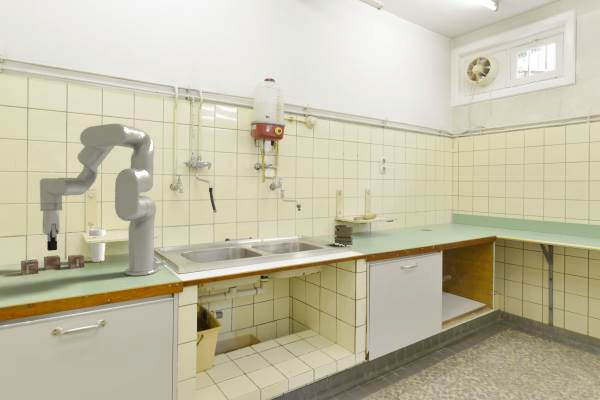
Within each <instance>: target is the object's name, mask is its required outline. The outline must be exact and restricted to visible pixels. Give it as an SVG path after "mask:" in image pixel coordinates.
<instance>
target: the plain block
mask: <svg viewBox="0 0 600 400" xmlns="http://www.w3.org/2000/svg"><path fill="white" fill-rule="evenodd" d="M43 269H44V270H45V271H51V270H57V269H58V270H59V269H61V256H60V255H47V256H44V257H43Z"/></svg>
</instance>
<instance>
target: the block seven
mask: <svg viewBox="0 0 600 400" xmlns="http://www.w3.org/2000/svg"><path fill="white" fill-rule="evenodd" d="M20 268H21V269H20V273H21V275H22V276H30V275H37V274H39V261H38V259H28V260H21V261H20Z"/></svg>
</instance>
